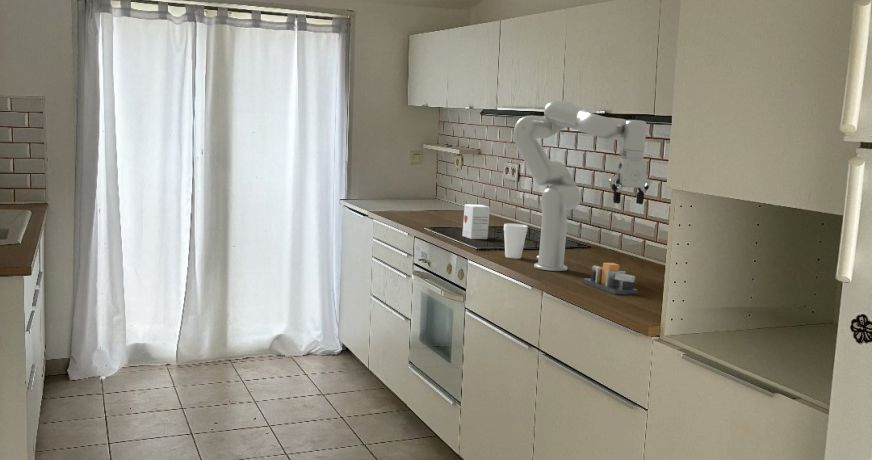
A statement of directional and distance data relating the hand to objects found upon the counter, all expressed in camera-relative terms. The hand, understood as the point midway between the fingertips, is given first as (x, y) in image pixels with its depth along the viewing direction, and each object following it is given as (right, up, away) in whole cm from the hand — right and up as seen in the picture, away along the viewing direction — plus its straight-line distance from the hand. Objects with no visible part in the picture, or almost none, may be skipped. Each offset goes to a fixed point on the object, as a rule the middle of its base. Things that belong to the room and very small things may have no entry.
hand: (628, 203), depth 320 cm
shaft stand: (-9, -29, -11) cm, 33 cm away
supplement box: (-50, -13, +94) cm, 107 cm away
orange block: (-9, -28, -11) cm, 31 cm away
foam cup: (-37, -21, +44) cm, 61 cm away
